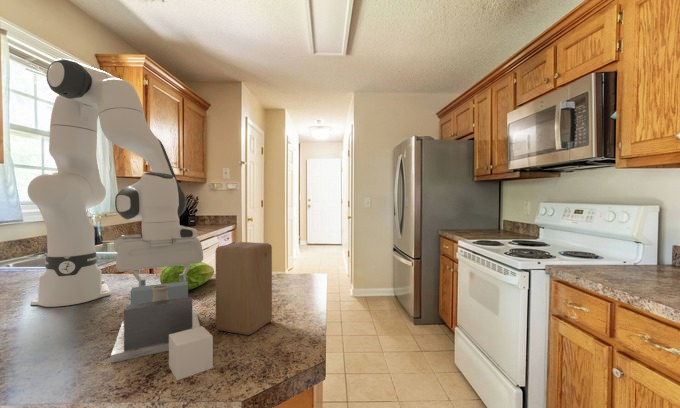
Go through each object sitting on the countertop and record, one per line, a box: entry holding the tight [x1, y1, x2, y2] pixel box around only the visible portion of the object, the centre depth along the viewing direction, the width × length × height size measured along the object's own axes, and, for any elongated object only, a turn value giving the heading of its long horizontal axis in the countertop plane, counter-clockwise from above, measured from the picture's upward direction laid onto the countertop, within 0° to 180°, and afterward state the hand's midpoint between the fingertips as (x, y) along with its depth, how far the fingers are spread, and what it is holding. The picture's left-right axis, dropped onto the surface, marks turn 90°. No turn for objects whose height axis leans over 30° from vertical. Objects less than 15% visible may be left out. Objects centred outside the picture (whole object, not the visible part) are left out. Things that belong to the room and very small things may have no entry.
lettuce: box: [159, 261, 215, 291], centre depth 110 cm, size 12×24×13 cm
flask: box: [151, 284, 169, 302], centre depth 69 cm, size 7×7×10 cm
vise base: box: [110, 296, 201, 364], centre depth 70 cm, size 19×16×10 cm
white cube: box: [168, 325, 214, 381], centre depth 57 cm, size 6×6×6 cm
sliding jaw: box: [130, 281, 189, 305], centre depth 76 cm, size 4×12×8 cm, turn 120°
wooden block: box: [215, 241, 273, 336], centre depth 75 cm, size 10×10×20 cm
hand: (163, 283), depth 83 cm, fingers open, 8 cm apart
